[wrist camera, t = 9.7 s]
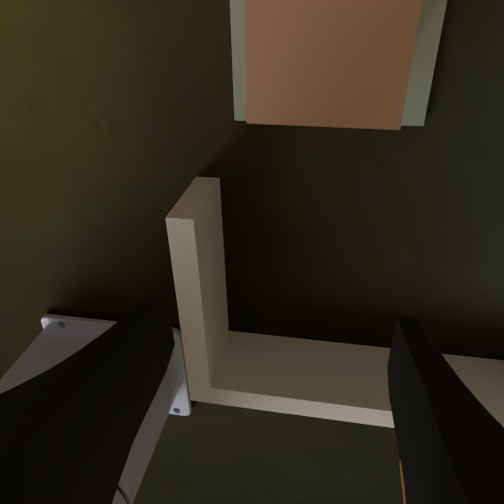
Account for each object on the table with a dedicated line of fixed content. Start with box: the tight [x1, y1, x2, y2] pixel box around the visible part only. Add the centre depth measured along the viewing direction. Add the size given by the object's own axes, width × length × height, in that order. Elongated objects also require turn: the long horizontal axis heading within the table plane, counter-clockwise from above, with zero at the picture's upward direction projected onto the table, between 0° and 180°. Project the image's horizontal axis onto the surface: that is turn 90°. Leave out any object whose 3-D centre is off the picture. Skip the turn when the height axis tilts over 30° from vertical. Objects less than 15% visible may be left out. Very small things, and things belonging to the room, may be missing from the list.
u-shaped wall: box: [166, 177, 504, 428], centre depth 21 cm, size 18×11×4 cm, turn 91°
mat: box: [230, 0, 447, 126], centre depth 17 cm, size 8×8×1 cm
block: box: [245, 0, 423, 130], centre depth 14 cm, size 4×5×6 cm
